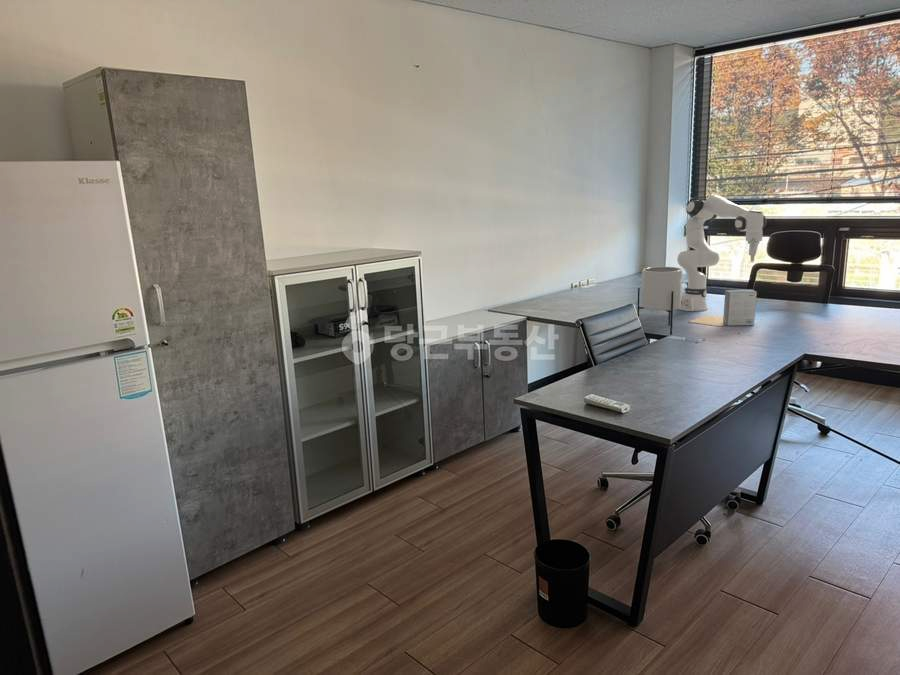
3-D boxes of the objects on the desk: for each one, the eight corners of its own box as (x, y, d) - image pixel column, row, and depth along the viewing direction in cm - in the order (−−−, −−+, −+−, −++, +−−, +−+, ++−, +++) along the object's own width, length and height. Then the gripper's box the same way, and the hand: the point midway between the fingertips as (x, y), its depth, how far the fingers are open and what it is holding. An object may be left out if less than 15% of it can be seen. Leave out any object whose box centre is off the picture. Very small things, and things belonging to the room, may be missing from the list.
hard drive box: (749, 322, 363) (752, 289, 357) (754, 325, 355) (757, 291, 350) (722, 322, 364) (725, 289, 359) (726, 325, 357) (729, 292, 352)
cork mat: (688, 322, 372) (688, 321, 371) (706, 315, 385) (706, 315, 385) (720, 326, 357) (720, 326, 357) (738, 319, 370) (738, 319, 370)
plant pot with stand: (680, 334, 344) (683, 272, 336) (636, 333, 352) (637, 272, 343) (679, 325, 366) (681, 266, 357) (637, 324, 374) (639, 266, 365)
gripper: (759, 239, 350) (757, 263, 354) (760, 236, 368) (758, 258, 371) (747, 239, 353) (745, 263, 357) (748, 236, 371) (747, 258, 374)
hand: (752, 261), depth 364 cm, fingers open, 3 cm apart
